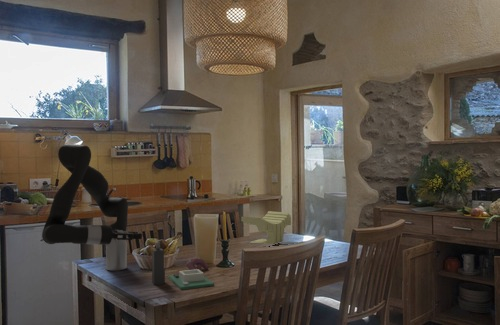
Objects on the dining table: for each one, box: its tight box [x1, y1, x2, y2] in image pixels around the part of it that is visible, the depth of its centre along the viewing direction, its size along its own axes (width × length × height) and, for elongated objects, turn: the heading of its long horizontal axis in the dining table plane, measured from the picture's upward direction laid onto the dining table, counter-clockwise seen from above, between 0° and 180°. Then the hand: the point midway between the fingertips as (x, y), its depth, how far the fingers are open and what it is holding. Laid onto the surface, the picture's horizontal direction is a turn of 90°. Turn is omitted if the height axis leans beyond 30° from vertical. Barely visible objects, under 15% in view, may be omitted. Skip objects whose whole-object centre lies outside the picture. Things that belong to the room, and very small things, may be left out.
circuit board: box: [167, 268, 215, 291], centre depth 200 cm, size 20×14×4 cm
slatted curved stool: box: [241, 210, 292, 244], centre depth 282 cm, size 30×16×18 cm, turn 147°
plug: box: [151, 241, 166, 286], centre depth 198 cm, size 4×5×17 cm
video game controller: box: [185, 257, 209, 271], centre depth 219 cm, size 10×5×7 cm, turn 141°
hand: (138, 235), depth 195 cm, fingers open, 8 cm apart
